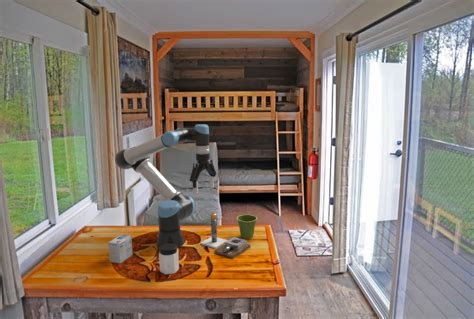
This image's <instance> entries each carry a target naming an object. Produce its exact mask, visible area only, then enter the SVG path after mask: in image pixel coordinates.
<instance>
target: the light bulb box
mask: <svg viewBox="0 0 474 319" xmlns="http://www.w3.org/2000/svg"><path fill="white" fill-rule="evenodd" d="M107 244H108V251H109V254H108V255H109V262H110V263H116V264H122V263H123V262H125V261H126V260H127V259H130V258H131V257H132V256H133V241H132V235H127V234H120V235H118V236H116V237H115V238H113V239H111V240H110V241H108V243H107Z"/></svg>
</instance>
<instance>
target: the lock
mask: <svg viewBox="0 0 474 319" xmlns="http://www.w3.org/2000/svg"><path fill="white" fill-rule="evenodd" d="M227 240H228V241H226V242H225V244H224V245H222V246H220V247H218V248H217V249H214V254H217V255H219V256H220V255H221V256H223V257H227V258H230V259H235V258H237V257H238V256H240V255H241V254H242V253H244V252H246V251H247V250H248V249H251V244H249V243H248V240H247V239H245V238H239V237H236V236H233V237H231V238H229V239H227Z"/></svg>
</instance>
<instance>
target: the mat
mask: <svg viewBox="0 0 474 319" xmlns="http://www.w3.org/2000/svg"><path fill="white" fill-rule="evenodd" d="M228 240H229V239H225V238H221V237H218V236H217V242H215V243H213V242H212V236H210V237H208V238H207V239H205V240H202V241H201V242H199V244H200V245H201V246H204V247H208V248H212V249H214V250H216V249H218V248H219V247H221V246H223V245H225V242H226V241H228Z"/></svg>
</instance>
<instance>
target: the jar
mask: <svg viewBox="0 0 474 319" xmlns="http://www.w3.org/2000/svg"><path fill="white" fill-rule="evenodd" d="M158 261H159V262H158V263H159V272H160V273H162V274H164V275H171V274H175V273H177V271H179V269H180V264H179V261H180V260H179V250H178V248H177V245H176V244H173V243H167V244H163V245H161V246H160V248H159V252H158Z"/></svg>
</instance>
